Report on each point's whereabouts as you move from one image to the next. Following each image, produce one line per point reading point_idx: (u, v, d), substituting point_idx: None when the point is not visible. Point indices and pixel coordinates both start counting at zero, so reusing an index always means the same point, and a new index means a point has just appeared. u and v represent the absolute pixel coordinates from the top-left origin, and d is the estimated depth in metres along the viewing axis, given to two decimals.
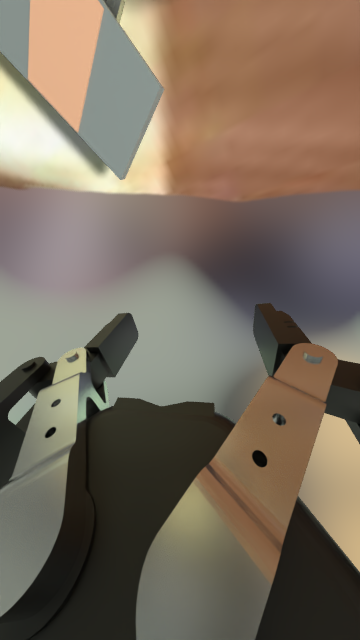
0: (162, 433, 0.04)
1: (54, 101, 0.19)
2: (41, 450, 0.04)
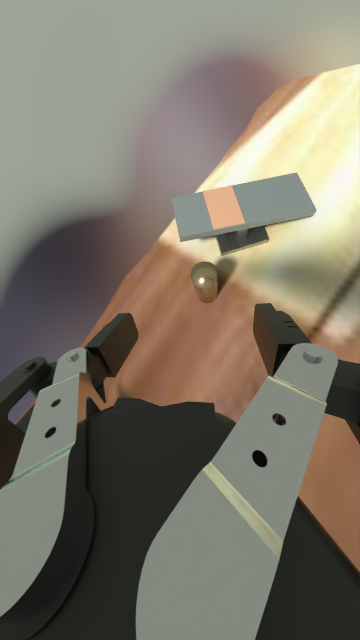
0: (162, 433, 0.04)
1: (218, 191, 0.33)
2: (41, 451, 0.04)
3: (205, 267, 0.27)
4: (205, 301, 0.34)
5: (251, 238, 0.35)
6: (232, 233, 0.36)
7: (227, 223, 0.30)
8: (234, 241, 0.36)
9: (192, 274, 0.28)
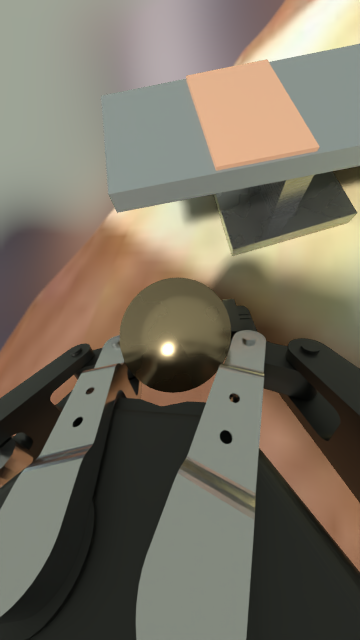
0: (162, 433, 0.04)
1: (229, 76, 0.12)
2: (66, 439, 0.04)
3: (178, 305, 0.06)
4: None
5: (309, 212, 0.14)
6: (259, 202, 0.15)
7: (260, 150, 0.09)
8: (264, 220, 0.15)
9: (126, 331, 0.07)
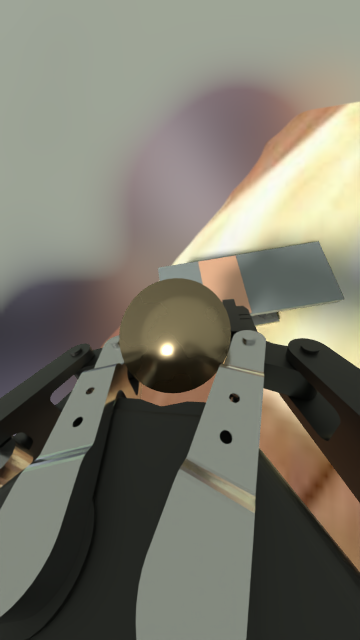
0: (162, 433, 0.04)
1: (218, 262, 0.26)
2: (66, 439, 0.04)
3: (178, 305, 0.06)
4: None
5: (257, 317, 0.28)
6: None
7: None
8: None
9: (126, 331, 0.07)
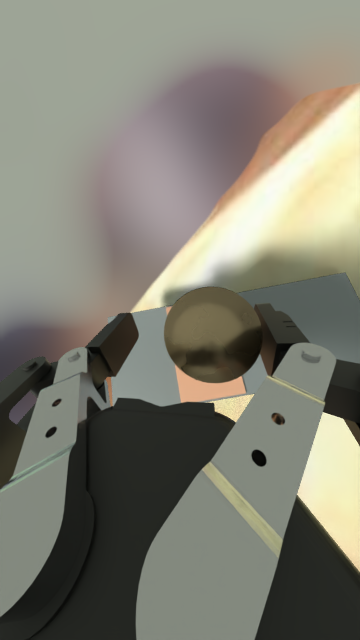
0: (162, 433, 0.04)
1: None
2: (42, 450, 0.04)
3: (218, 310, 0.07)
4: None
5: None
6: None
7: (209, 392, 0.15)
8: None
9: (170, 330, 0.07)
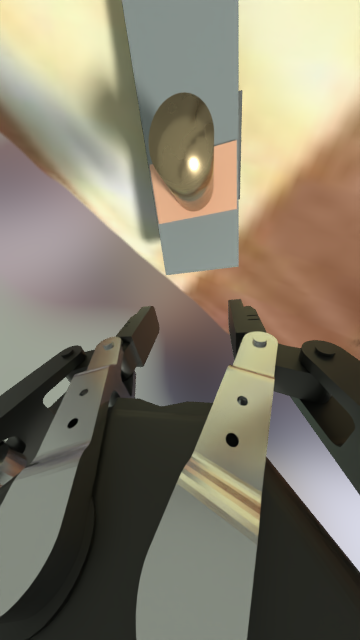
0: (162, 433, 0.04)
1: (158, 194, 0.20)
2: (61, 440, 0.04)
3: (165, 136, 0.11)
4: (212, 191, 0.18)
5: None
6: None
7: (230, 180, 0.18)
8: None
9: (178, 178, 0.11)
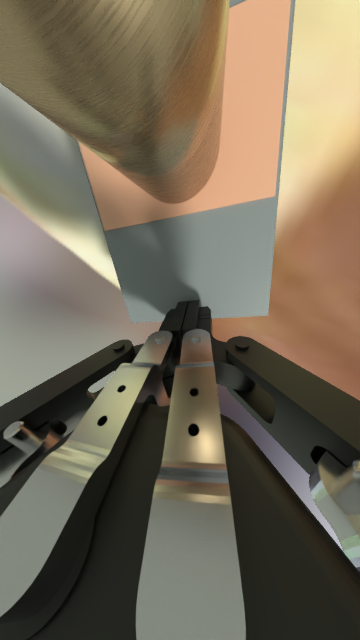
0: (162, 433, 0.04)
1: (96, 165, 0.09)
2: (88, 437, 0.04)
3: None
4: (217, 150, 0.07)
5: None
6: None
7: (265, 120, 0.07)
8: None
9: None
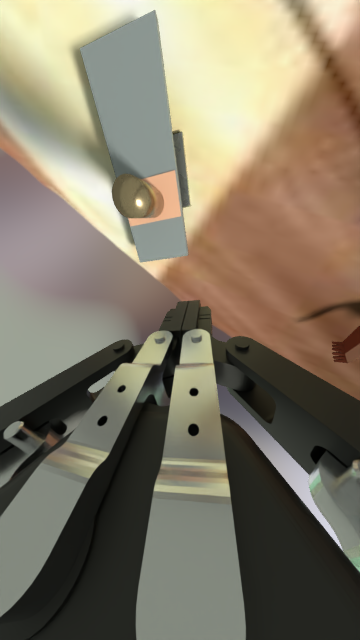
0: (162, 433, 0.04)
1: None
2: (88, 436, 0.04)
3: (121, 194, 0.20)
4: (162, 205, 0.27)
5: (176, 159, 0.28)
6: None
7: (174, 197, 0.26)
8: None
9: (131, 215, 0.21)
